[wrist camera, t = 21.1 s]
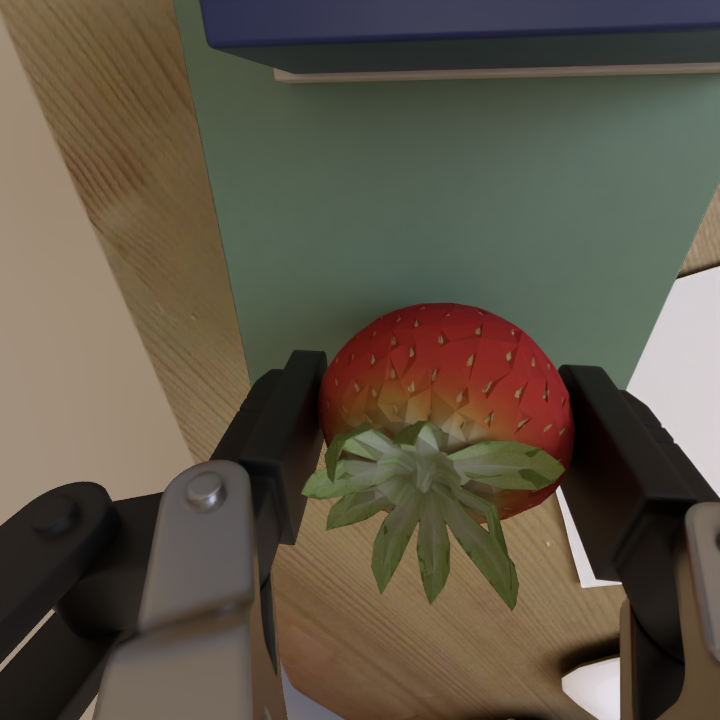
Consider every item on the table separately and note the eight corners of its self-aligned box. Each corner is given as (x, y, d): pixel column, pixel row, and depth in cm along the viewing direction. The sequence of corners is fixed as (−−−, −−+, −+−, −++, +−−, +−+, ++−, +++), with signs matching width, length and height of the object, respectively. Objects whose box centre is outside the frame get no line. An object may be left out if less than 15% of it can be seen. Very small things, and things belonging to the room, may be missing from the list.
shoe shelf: (299, 326, 21) (254, 409, 15) (240, -223, 11) (50, -584, 5) (550, 338, 20) (607, 434, 14) (729, -278, 10) (1184, -846, 4)
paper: (869, 558, 25) (886, 575, 24) (583, 591, 31) (588, 605, 30) (950, 176, 14) (986, 181, 13) (485, 338, 20) (488, 348, 19)
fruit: (335, 251, 11) (221, 451, 5) (529, 233, 10) (730, 448, 4) (358, 391, 14) (306, 645, 7) (514, 386, 13) (616, 672, 6)
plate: (529, 656, 38) (534, 677, 36) (799, 596, 28) (820, 622, 27) (636, 732, 45) (643, 752, 43) (884, 705, 35) (904, 730, 33)
